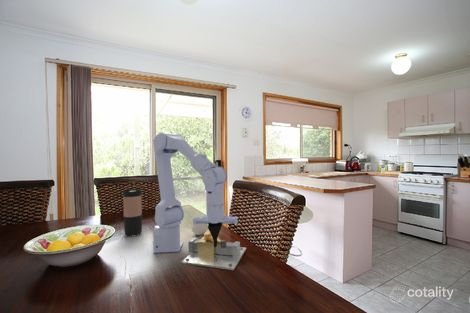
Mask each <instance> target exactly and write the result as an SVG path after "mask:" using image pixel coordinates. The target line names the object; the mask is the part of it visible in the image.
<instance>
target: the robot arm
mask: <svg viewBox="0 0 470 313" xmlns="http://www.w3.org/2000/svg"><path fill="white" fill-rule="evenodd" d="M152 142H153V150H154V151H153V152H154V156H155V164H156V172H157V180H158V189H159V195H160V201H159V202H158V204H157V205H156V206H155V208H154V210H155V214H154V220H155V224H156V225H155V226H154V229H153V236H152V238H153V242H152V243H153V251H152V252H153V254H156V253H158V254H159V253H179V252H180V250H181V248H182V246H183V242H181V230H180V229H181V227H180V225H181V224H182V221H183V220H184V217H185V211H184V209H183V207H182V202H181V201H180V200H179V199H177V198H176V193H175V185H174V178H173V176H174V175H173V171H172V163H171V158H172V157H173V156H174V155H176V154H177V153H178V152H179V153H181V154H182V155H183V157H185V158H186V159H188V160H189V161H190V167H191V168H193V170H195V172H197V173H198V174H199V175H200V176H201V180H202V182H203V184H204V190H205V195H206V196H205V197H206V199H205V203H206V206H205V208H206V215H205V216H203V215H202V216H193V218H192V224H193V225H196V224H207V225H208V232H210V233H211V235H212V238H213V241H214V247H217V238H218V237H219V234H220V232H221V229H222V227H223V224H228V225H229V224H234V225H238V216H231V215H230V216H229V215H225V202H224V201H225V198H224V197H225V196H224V195H225V193H224V192H225V191H224V189H225V187H224V184H225V183H226V181H227V180H228V179H227V178H228V173H227V171H226V169H224V167H222V166H218V165H216V163H215V162H213V161H211V160H210V159H209V158H208V155H206V154H205V153H198V152H197V151H196V150H194V148H193V147H192V146H191V145H190V144H189V143H188V142H187V140H186V138H185V137H184V136H183V135H182V134H180V133H170V132H162V131H159V132H157V133H156V134H155V136H154V138H153V139H152Z"/></svg>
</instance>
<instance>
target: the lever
mask: <svg viewBox="0 0 470 313" xmlns="http://www.w3.org/2000/svg"><path fill="white" fill-rule="evenodd" d="M203 237H204V239H205V240H210V241H212V242H214V241H213V238H212V235H211V233H210V231H206V232H205V233H204V234H203ZM226 242H227V240H225V239H220V238H219V239H218V238H217V245H219V246H220V247H221V248H226V247H227V246H226Z"/></svg>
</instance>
